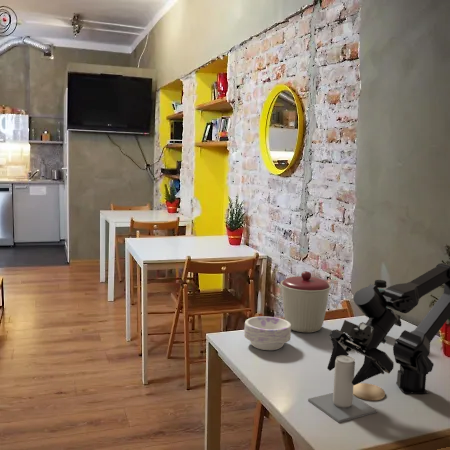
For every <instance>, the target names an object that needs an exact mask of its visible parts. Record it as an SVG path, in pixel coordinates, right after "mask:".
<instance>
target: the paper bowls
mask: <svg viewBox="0 0 450 450" xmlns="http://www.w3.org/2000/svg"><path fill="white" fill-rule="evenodd" d="M243 331H244V332H243V333H244V335H243V336H244V337H245V339H247V340H248V341H249V342H250V343H251V345H252V346H253V347H254V348H256V349H258V350H262V351H276V350H279V349H281V348H283V346H284V344H285V343H288V342H289V341H291V335H292V334H291V333H292V330H291V324H290V322H288V321H286V320H285V318H280V317H275V316H262V315H261V316H253V317H248V319H245V322H244V330H243Z"/></svg>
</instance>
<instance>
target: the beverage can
mask: <svg viewBox="0 0 450 450" xmlns="http://www.w3.org/2000/svg"><path fill="white" fill-rule="evenodd" d="M355 365H356V361H355V357H352V356H349V355H348V356H345V355H340V356H337V357H336V360H335V368H334V374H333V375H334V378H333V389H332V391H333V392H332V393H333V403H334V404H335V405H336V406H338V407H341V408H348V407H350V406H351V405H352V399H353V396H354V395H353V386H354V385H353V384H352V380H353V379H354V377H355V371H356V369H355V368H356V366H355Z"/></svg>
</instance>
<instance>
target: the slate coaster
mask: <svg viewBox="0 0 450 450" xmlns="http://www.w3.org/2000/svg"><path fill="white" fill-rule="evenodd" d="M307 400H308V402H309V403H311V405H313V406H315V407H316V408H318V409H319V410H321V411H322V412H323V413H324V414H325V415H327V416H329V417H330V418H331V419H333V420H334V421H335V422H337V423H342V422H346V421H349V420H354V419H356V418H361V417H363V416H368V415H373V414H376V413H377V410H378V409H375V408H374V407H372V406H371V405H370V404H367V403H366V402H364V401H363V400H362V399H360V398H358V397H356V396H354V395H353V399H352V405H351V406H350V407H348V408H341V407H338V406H336V405H335V404H334V403H333V392H331V393H327V394H323V395H318V396H314V397H310V398H308V399H307Z"/></svg>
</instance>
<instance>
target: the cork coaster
mask: <svg viewBox="0 0 450 450" xmlns="http://www.w3.org/2000/svg"><path fill="white" fill-rule="evenodd" d="M353 396H355V397H357V398H358V399H360V400H364V401H371V402H372V401H373V402H374V401H379V400H383V399H384V398H385V396H386V392H385V390H384V388H382V387H380V386H378V385H375V384H372V383H364V382H363V383H362V382H360V383H358V384H356V385H354V386H353Z"/></svg>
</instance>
